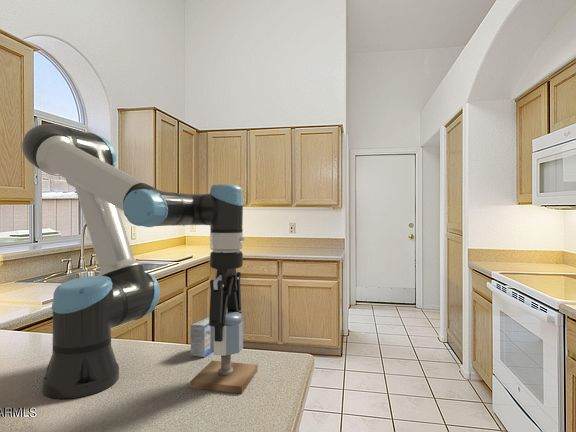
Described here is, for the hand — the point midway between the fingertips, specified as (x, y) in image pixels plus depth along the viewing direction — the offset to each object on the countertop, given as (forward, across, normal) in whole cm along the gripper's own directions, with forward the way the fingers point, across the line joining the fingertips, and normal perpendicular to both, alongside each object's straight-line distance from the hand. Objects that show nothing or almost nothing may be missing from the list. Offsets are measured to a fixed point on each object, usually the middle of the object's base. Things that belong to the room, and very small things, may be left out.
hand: (226, 348), depth 86 cm
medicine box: (+7, +15, +12) cm, 21 cm away
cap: (0, 0, 0) cm, 0 cm away
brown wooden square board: (+7, 0, 0) cm, 7 cm away
